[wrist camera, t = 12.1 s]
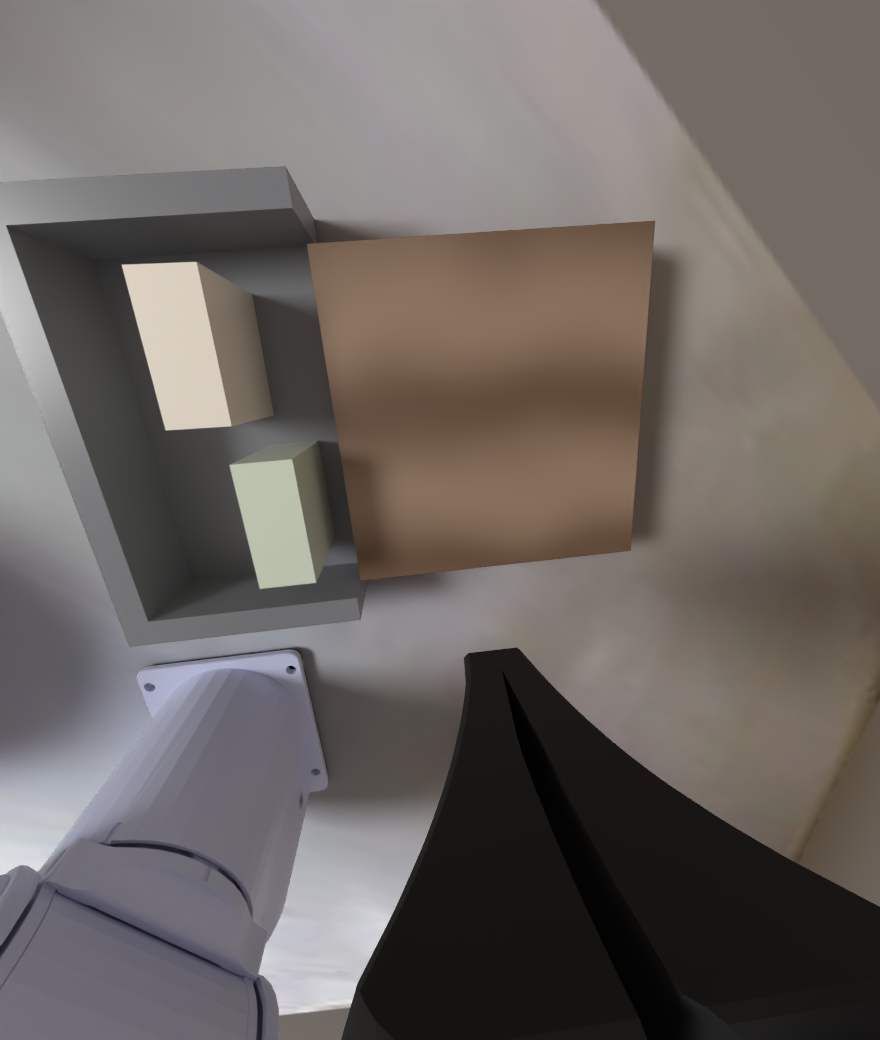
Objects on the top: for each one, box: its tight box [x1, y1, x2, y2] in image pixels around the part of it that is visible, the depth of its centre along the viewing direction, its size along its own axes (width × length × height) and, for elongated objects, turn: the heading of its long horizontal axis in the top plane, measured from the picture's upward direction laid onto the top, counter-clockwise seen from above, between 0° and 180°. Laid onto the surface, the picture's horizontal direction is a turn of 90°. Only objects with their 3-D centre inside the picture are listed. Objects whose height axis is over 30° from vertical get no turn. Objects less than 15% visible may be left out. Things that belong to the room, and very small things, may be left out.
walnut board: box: [307, 221, 655, 581], centre depth 17 cm, size 12×12×2 cm
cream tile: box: [122, 262, 274, 430], centre depth 14 cm, size 4×4×2 cm
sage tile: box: [229, 441, 335, 589], centre depth 16 cm, size 4×4×2 cm
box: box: [0, 166, 367, 647], centre depth 16 cm, size 15×9×4 cm, turn 5°
